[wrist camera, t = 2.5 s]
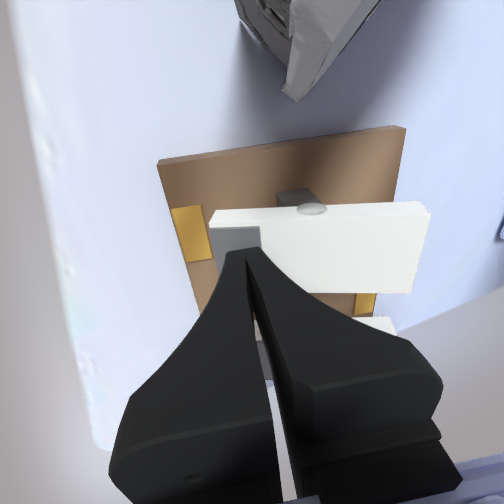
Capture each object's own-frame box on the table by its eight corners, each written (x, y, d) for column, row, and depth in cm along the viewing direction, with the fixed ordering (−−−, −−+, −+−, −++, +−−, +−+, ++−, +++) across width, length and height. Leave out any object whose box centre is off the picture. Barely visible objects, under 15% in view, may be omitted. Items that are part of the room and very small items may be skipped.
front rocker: (416, 197, 11) (433, 216, 9) (399, 271, 13) (411, 295, 11) (217, 207, 12) (207, 225, 11) (229, 272, 14) (222, 294, 13)
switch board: (394, 125, 14) (436, 136, 11) (364, 315, 21) (386, 348, 18) (159, 159, 13) (148, 179, 10) (212, 344, 20) (213, 382, 18)
